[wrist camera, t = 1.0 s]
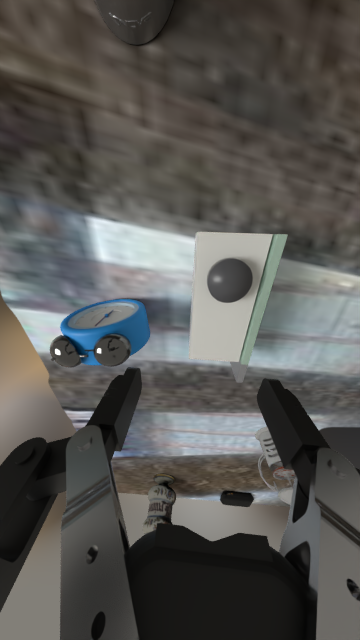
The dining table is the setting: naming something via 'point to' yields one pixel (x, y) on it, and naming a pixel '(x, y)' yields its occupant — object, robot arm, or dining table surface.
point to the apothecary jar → (160, 503)
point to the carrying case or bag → (236, 498)
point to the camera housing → (224, 292)
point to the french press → (278, 473)
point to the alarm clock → (102, 334)
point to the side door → (260, 304)
